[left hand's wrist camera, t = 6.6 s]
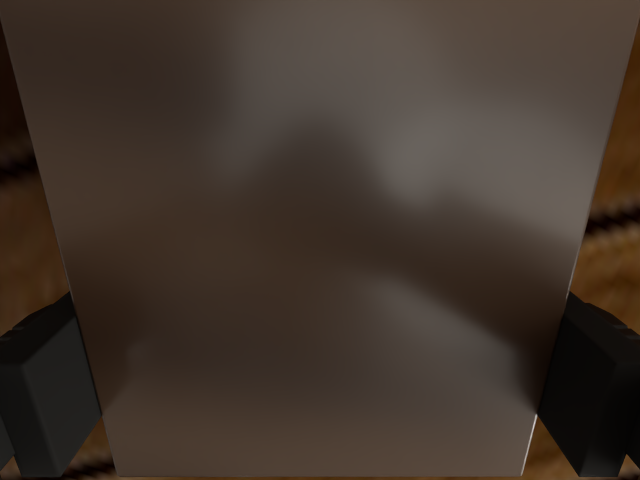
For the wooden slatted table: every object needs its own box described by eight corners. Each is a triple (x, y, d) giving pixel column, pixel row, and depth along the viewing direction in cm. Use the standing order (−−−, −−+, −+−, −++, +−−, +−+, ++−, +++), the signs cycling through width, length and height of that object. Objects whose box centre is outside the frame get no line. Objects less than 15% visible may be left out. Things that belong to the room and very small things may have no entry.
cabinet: (158, -204, 12) (-262, -981, 3) (480, -204, 12) (899, -974, 3) (213, 294, 19) (116, 478, 10) (425, 294, 19) (522, 478, 10)
